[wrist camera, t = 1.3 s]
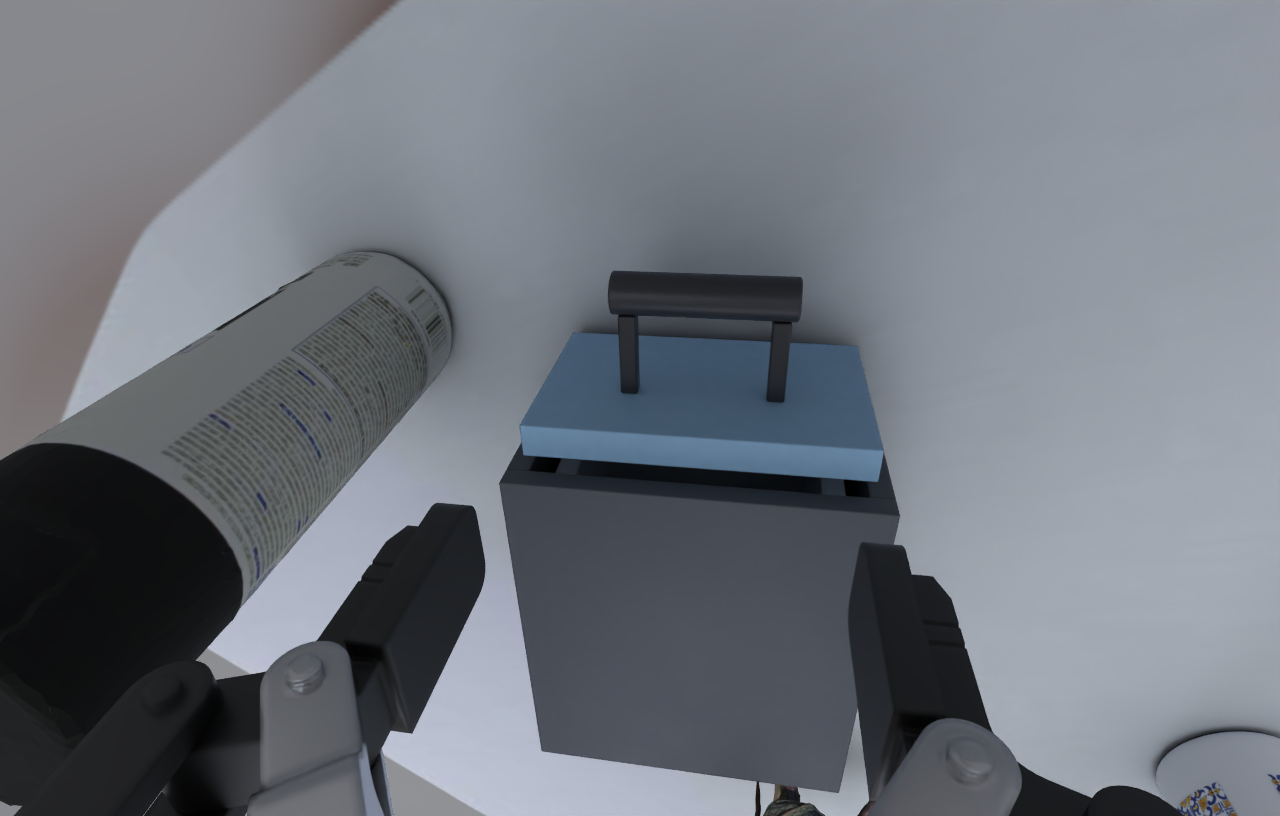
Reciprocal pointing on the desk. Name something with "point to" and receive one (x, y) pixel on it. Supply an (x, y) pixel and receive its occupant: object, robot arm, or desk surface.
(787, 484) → the blue drawer
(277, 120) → the desk surface
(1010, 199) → the desk surface
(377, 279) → the spray can
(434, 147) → the desk surface
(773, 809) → the plant with pod
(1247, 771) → the bath foam
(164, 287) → the desk surface
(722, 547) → the dark grey open box
